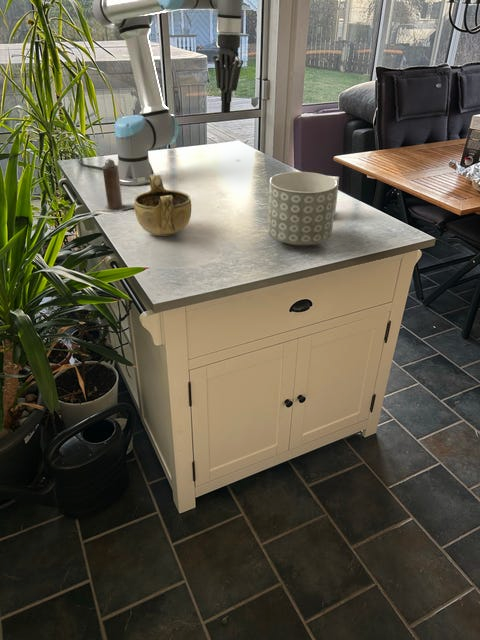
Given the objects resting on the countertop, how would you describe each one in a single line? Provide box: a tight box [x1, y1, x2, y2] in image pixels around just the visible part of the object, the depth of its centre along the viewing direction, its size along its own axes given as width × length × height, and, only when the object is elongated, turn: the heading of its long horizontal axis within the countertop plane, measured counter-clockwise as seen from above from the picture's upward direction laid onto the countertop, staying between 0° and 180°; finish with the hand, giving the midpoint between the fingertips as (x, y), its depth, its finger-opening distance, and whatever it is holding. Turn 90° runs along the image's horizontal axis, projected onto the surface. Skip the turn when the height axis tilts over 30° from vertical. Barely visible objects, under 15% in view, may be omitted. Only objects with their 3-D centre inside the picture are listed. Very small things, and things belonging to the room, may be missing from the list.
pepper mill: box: [101, 158, 124, 211], centre depth 170 cm, size 5×5×16 cm
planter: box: [267, 171, 337, 248], centre depth 147 cm, size 19×19×18 cm
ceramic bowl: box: [133, 174, 192, 237], centre depth 152 cm, size 22×17×15 cm
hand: (225, 112), depth 174 cm, fingers closed
